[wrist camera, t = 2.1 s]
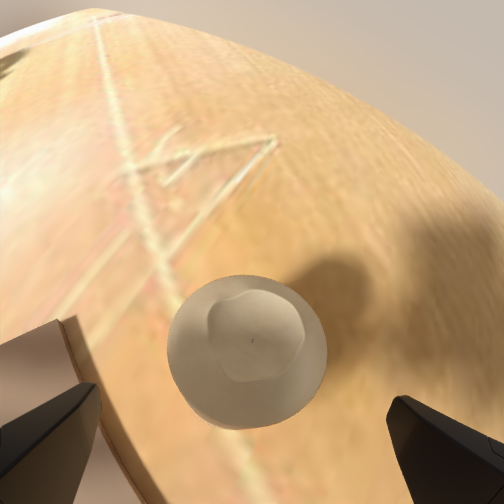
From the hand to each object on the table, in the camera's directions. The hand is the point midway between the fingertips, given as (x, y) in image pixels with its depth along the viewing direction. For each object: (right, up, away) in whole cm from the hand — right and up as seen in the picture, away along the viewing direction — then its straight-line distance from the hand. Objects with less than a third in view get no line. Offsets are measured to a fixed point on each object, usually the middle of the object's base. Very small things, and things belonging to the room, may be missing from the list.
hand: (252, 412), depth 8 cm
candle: (-1, -3, +10) cm, 10 cm away
